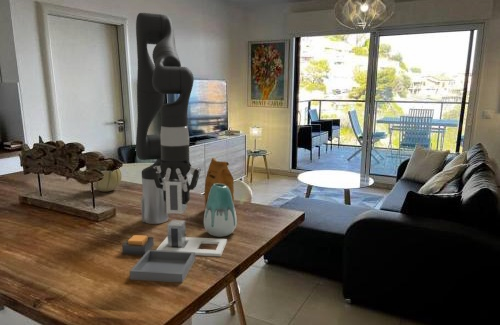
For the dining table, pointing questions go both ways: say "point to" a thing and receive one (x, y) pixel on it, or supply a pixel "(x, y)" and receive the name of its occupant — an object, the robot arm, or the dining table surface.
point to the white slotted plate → (197, 246)
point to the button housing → (138, 247)
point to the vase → (220, 211)
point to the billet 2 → (176, 234)
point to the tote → (163, 266)
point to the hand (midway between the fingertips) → (176, 202)
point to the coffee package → (218, 177)
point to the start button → (138, 240)
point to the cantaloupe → (109, 181)
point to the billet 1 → (174, 197)
